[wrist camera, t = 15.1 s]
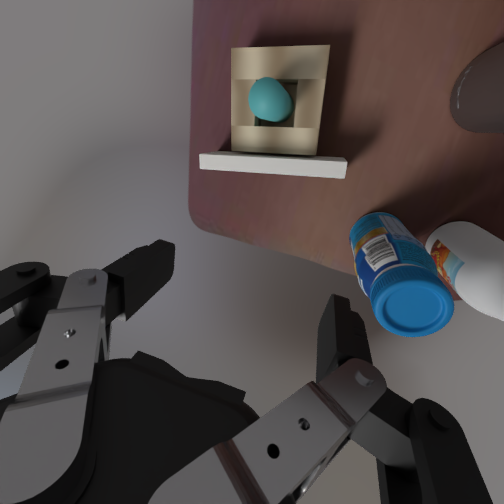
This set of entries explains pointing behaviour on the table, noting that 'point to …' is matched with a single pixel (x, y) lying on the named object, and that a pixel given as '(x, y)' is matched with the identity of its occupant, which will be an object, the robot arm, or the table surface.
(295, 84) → the socket block
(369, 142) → the table surface
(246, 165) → the backstop wall
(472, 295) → the grey thin strip
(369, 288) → the beverage bottle
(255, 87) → the teal rounded cylinder
